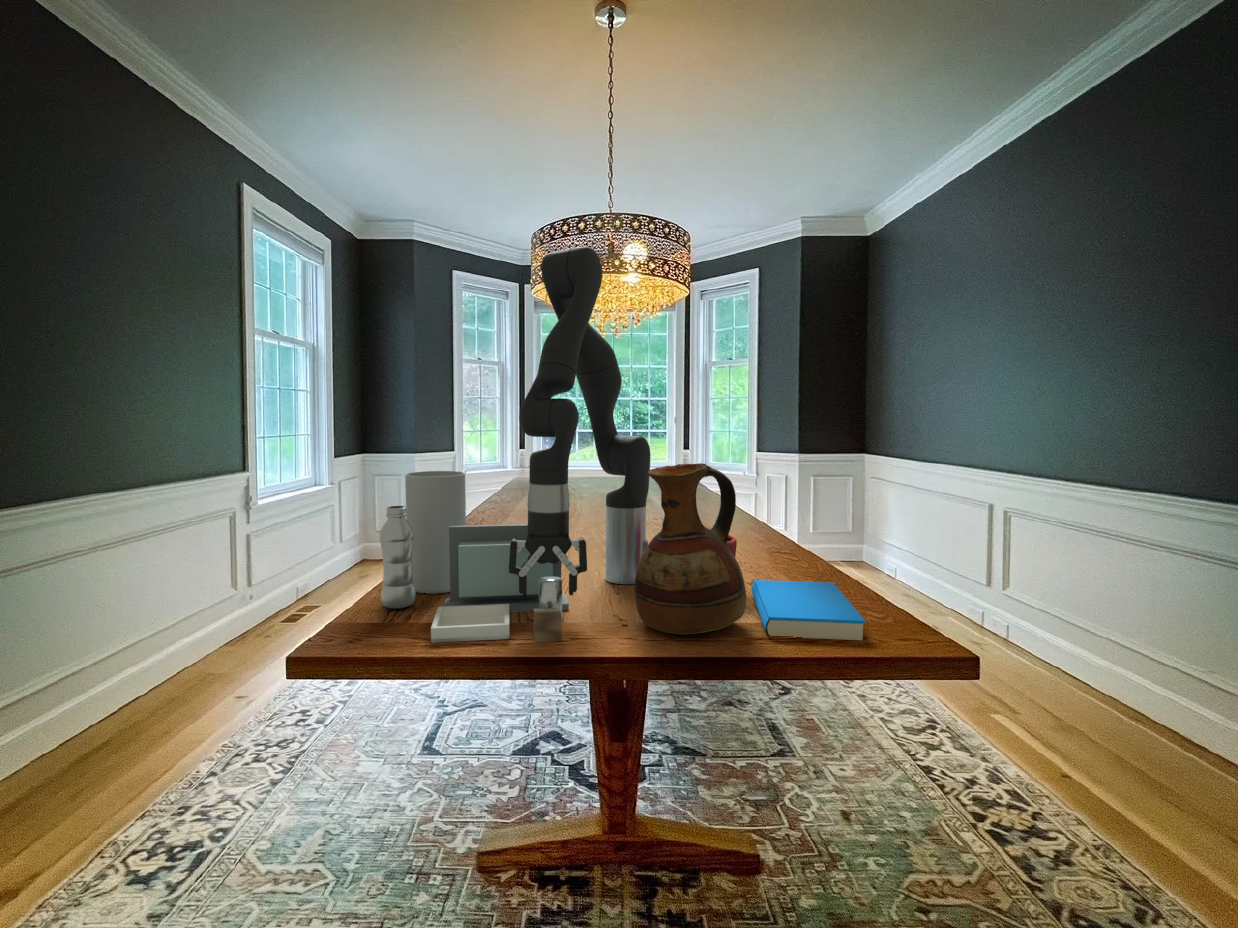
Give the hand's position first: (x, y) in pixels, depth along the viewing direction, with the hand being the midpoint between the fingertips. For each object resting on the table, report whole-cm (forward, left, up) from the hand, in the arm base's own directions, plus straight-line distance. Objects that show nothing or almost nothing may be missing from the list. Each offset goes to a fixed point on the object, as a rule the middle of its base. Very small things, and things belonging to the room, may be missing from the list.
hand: (547, 594), depth 121 cm
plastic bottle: (+29, -13, -5) cm, 32 cm away
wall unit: (+8, -10, -5) cm, 14 cm away
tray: (+14, +2, -5) cm, 15 cm away
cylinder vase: (+23, -27, -5) cm, 36 cm away
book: (-49, +3, -6) cm, 49 cm away
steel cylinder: (0, 0, -5) cm, 5 cm away
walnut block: (+1, +8, -5) cm, 9 cm away
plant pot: (-35, -17, -5) cm, 40 cm away
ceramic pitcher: (-25, +6, -5) cm, 27 cm away
